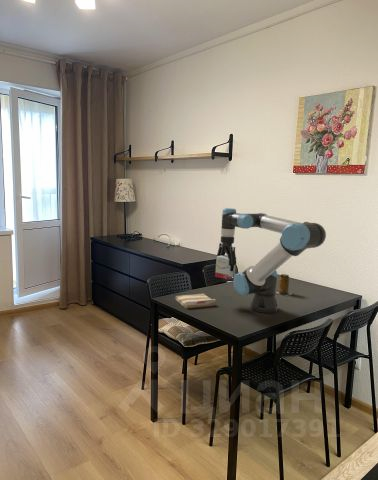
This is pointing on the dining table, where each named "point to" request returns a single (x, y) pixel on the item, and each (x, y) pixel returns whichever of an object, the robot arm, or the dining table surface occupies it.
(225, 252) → the robot arm
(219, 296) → the dining table surface
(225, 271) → the ink box
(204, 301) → the shelf board
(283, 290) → the condiment
